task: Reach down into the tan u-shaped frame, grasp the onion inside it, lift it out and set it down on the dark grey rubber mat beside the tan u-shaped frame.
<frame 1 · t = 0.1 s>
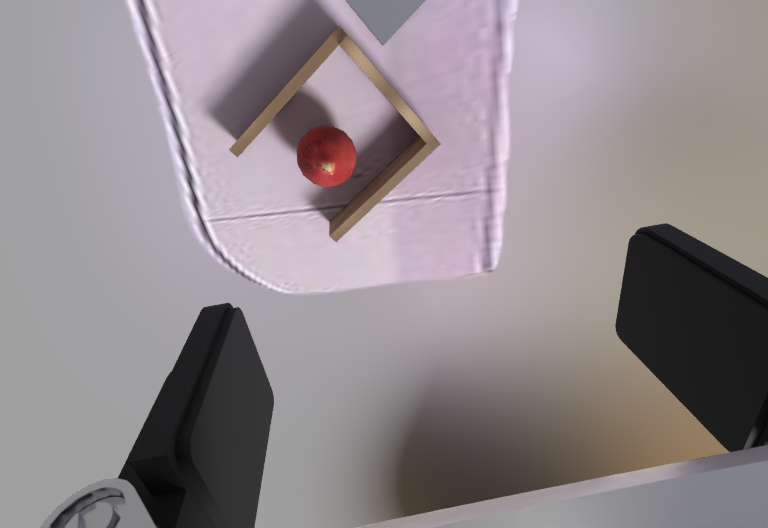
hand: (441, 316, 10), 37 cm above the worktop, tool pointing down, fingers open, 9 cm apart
tan u-shaped frame: (333, 141, 44), on the worktop
onion: (327, 147, 44), on the worktop
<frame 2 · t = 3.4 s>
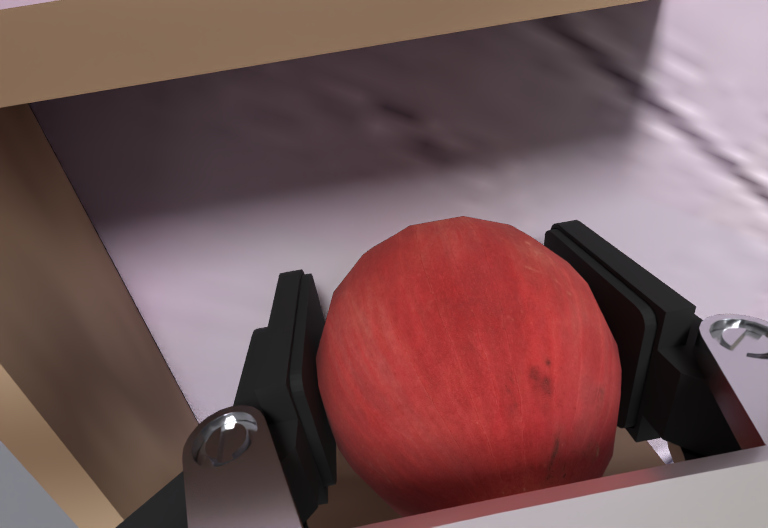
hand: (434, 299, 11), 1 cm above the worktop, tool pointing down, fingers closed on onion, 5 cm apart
tan u-shaped frame: (389, 279, 12), on the worktop
onion: (423, 269, 12), on the worktop, touching gripper
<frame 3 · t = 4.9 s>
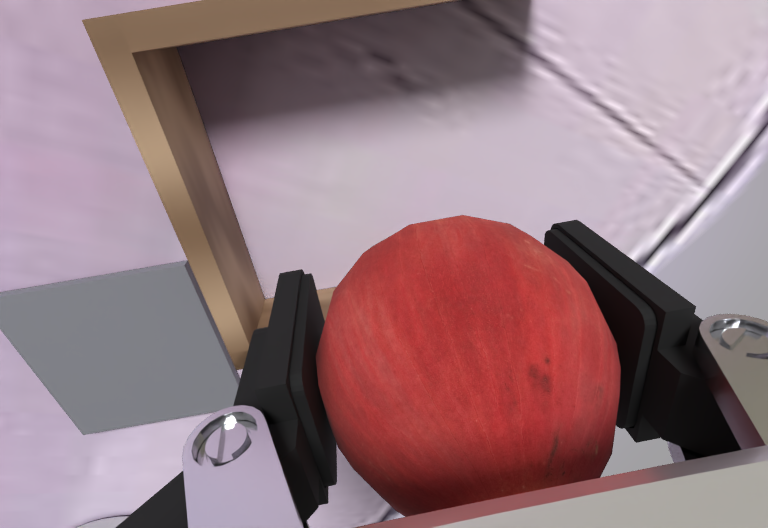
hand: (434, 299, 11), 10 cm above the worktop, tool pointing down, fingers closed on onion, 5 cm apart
tan u-shaped frame: (378, 167, 19), on the worktop
mat: (132, 353, 23), on the worktop
onion: (423, 268, 12), point 8 cm above the worktop, touching gripper
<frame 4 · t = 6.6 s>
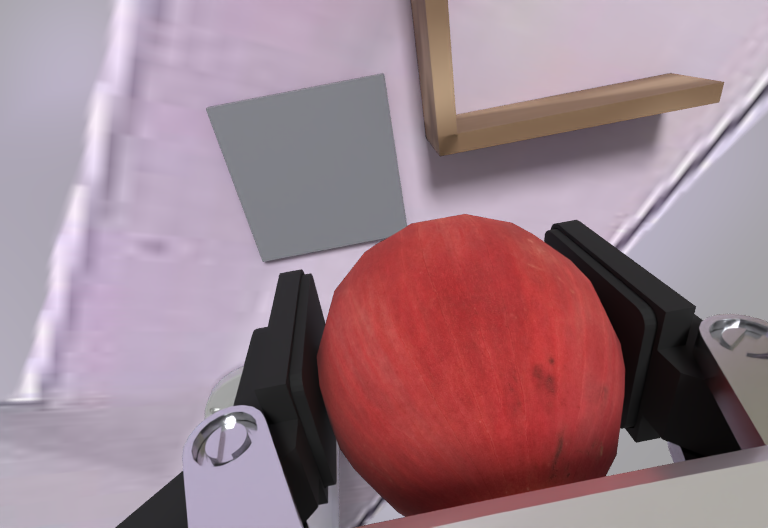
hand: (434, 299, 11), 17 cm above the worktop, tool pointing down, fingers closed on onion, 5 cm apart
mat: (317, 175, 26), on the worktop
onion: (424, 268, 12), point 15 cm above the worktop, touching gripper
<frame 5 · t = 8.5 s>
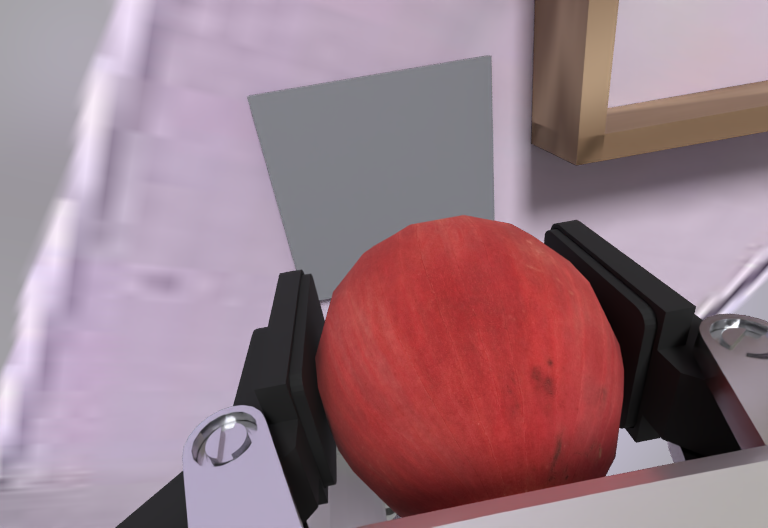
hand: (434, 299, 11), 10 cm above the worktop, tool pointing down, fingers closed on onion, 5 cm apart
mat: (386, 190, 20), on the worktop
onion: (423, 268, 12), point 8 cm above the worktop, touching gripper
when the fingers open (3 cm above the worktop, at t = 10.1 s): onion drops 2 cm, resting on mat.
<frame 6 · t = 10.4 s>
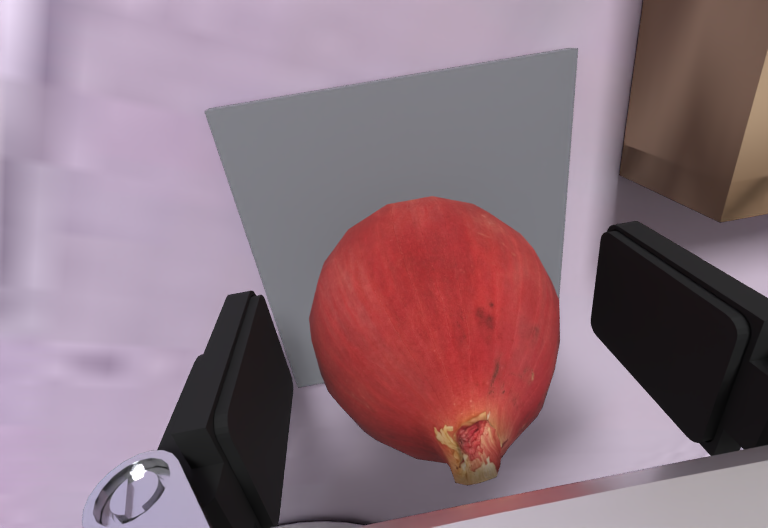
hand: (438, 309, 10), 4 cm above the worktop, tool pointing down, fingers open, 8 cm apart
mat: (411, 240, 14), on the worktop
onion: (405, 249, 14), resting on mat
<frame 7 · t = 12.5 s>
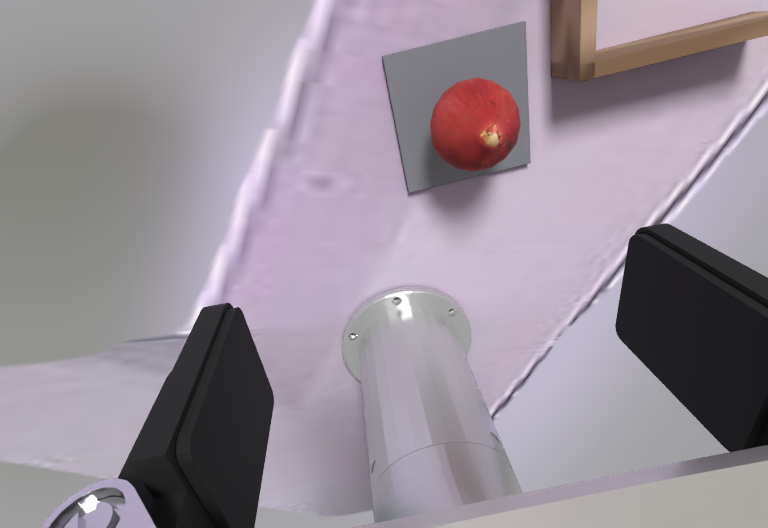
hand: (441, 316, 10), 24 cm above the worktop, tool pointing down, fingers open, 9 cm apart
mat: (460, 112, 31), on the worktop
onion: (458, 116, 31), resting on mat
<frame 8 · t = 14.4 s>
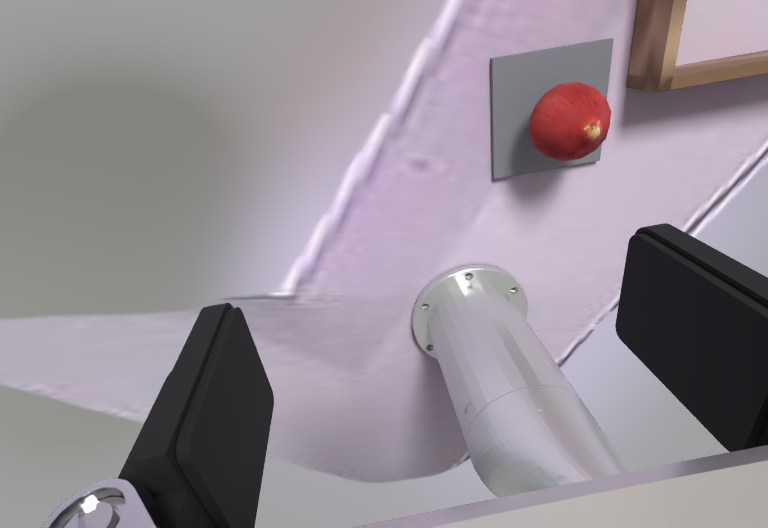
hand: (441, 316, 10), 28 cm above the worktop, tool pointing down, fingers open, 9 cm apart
mat: (547, 112, 36), on the worktop
onion: (545, 115, 36), resting on mat
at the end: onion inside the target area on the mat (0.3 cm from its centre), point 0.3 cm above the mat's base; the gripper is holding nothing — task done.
